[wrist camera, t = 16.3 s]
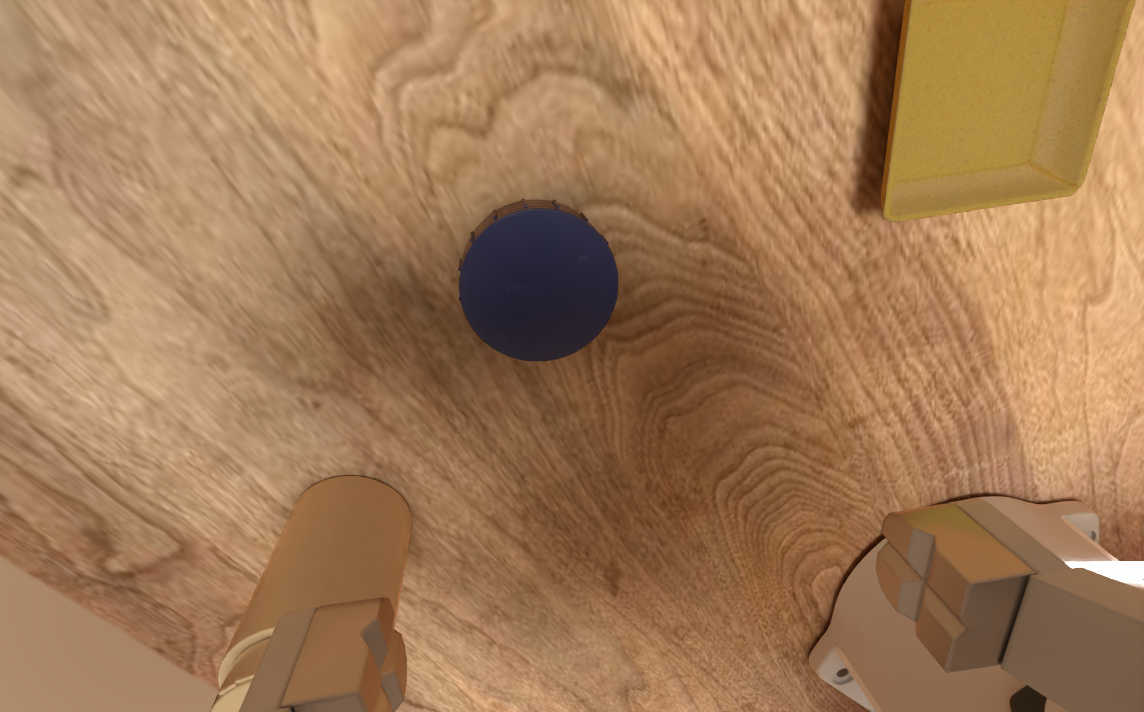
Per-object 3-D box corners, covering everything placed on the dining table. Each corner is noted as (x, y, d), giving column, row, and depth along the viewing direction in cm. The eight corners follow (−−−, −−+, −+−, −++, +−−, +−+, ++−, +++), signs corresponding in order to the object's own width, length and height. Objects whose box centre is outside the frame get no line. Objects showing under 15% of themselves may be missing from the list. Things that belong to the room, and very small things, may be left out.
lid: (495, 171, 21) (496, 178, 19) (635, 237, 23) (647, 248, 21) (438, 313, 23) (434, 330, 21) (570, 362, 24) (577, 382, 23)
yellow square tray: (1097, -54, 20) (1159, -70, 19) (1037, 187, 24) (1084, 195, 22) (876, -31, 20) (918, -45, 18) (849, 214, 23) (881, 224, 22)
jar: (435, 524, 27) (413, 723, 18) (352, 582, 28) (293, 799, 19) (354, 454, 25) (285, 644, 16) (265, 519, 26) (154, 733, 17)
